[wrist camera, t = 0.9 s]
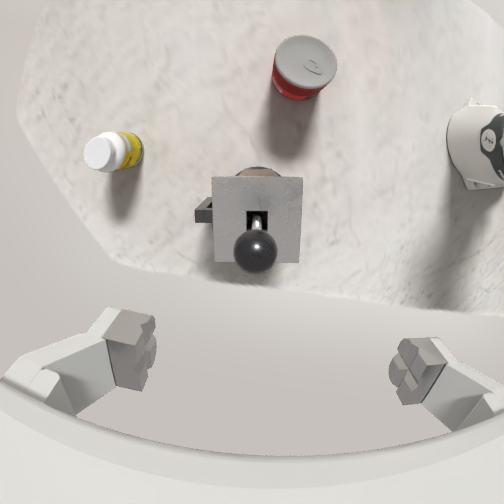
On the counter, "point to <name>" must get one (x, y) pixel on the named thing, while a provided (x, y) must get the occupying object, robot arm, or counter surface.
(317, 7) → the counter surface
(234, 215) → the cafetiere
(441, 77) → the counter surface
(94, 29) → the counter surface
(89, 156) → the pill bottle
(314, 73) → the canned food
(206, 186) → the counter surface
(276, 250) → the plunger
